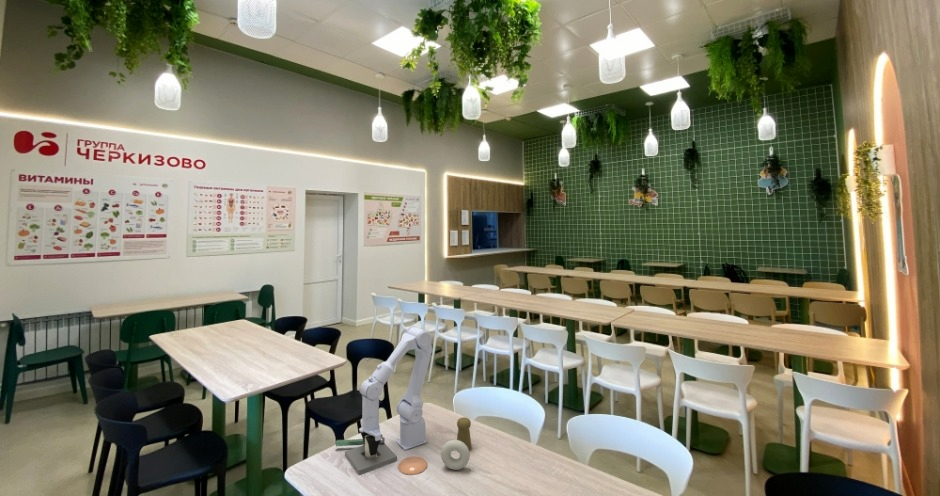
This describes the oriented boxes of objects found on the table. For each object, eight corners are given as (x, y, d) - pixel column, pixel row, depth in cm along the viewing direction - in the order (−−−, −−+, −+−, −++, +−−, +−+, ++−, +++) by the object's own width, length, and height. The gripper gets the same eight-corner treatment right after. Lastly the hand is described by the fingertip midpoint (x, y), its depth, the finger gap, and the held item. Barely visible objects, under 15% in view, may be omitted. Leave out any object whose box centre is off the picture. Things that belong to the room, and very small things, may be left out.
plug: (373, 453, 141) (373, 432, 141) (378, 458, 138) (378, 436, 137) (363, 457, 138) (363, 435, 138) (367, 462, 135) (367, 440, 135)
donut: (470, 467, 133) (470, 438, 133) (468, 473, 130) (469, 444, 129) (441, 464, 134) (442, 436, 134) (439, 470, 131) (440, 441, 131)
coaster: (418, 454, 141) (418, 453, 141) (432, 467, 132) (432, 466, 132) (393, 463, 135) (393, 462, 135) (406, 478, 127) (406, 477, 127)
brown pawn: (470, 453, 142) (470, 423, 141) (454, 451, 143) (454, 422, 142) (473, 444, 148) (473, 416, 147) (457, 442, 149) (457, 414, 148)
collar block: (381, 443, 148) (381, 439, 148) (397, 460, 137) (397, 456, 137) (344, 455, 140) (344, 451, 139) (358, 475, 128) (358, 470, 128)
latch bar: (384, 441, 147) (384, 436, 146) (384, 444, 144) (384, 440, 144) (336, 443, 144) (336, 439, 144) (335, 447, 142) (335, 442, 142)
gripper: (352, 409, 141) (352, 445, 141) (367, 425, 129) (367, 465, 130) (370, 404, 145) (371, 439, 146) (387, 419, 133) (387, 458, 134)
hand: (370, 451), depth 138 cm, fingers closed on plug, 4 cm apart
